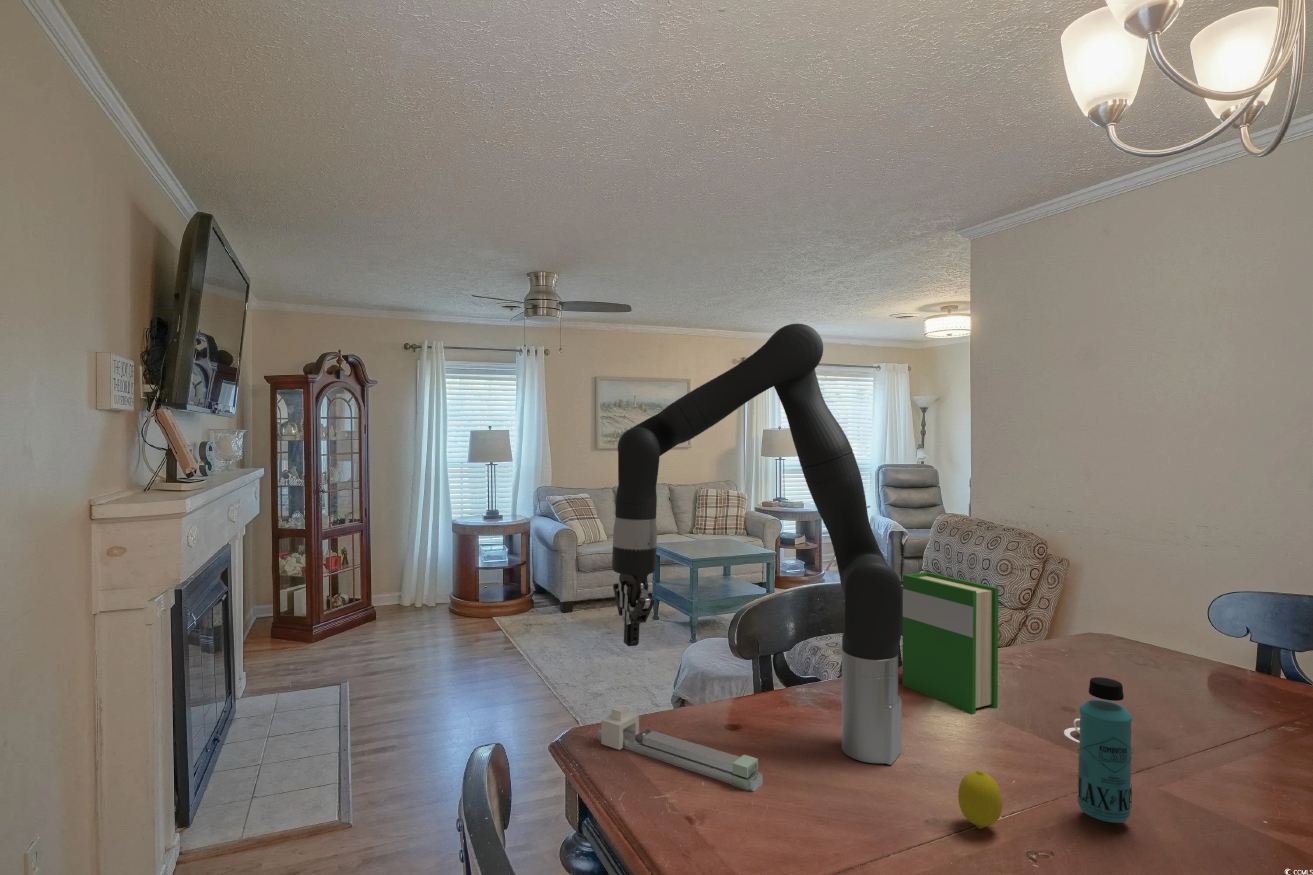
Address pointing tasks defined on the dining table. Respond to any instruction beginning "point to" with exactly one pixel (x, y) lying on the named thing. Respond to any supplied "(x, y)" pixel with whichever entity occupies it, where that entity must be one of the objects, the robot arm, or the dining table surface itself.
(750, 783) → the base
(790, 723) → the dining table surface
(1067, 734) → the teacup and saucer
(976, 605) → the hardback book
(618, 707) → the lock slider
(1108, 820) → the beverage bottle
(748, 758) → the bar
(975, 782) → the lemon
